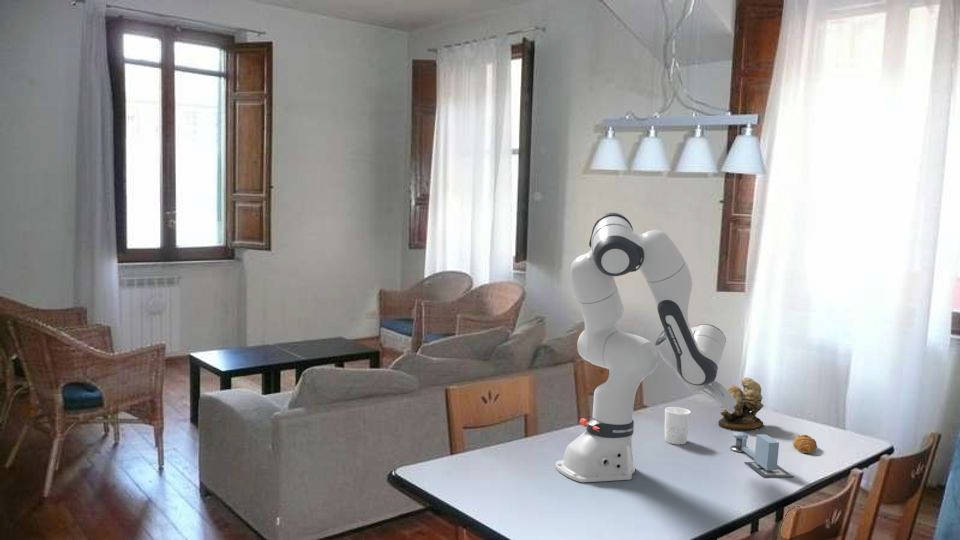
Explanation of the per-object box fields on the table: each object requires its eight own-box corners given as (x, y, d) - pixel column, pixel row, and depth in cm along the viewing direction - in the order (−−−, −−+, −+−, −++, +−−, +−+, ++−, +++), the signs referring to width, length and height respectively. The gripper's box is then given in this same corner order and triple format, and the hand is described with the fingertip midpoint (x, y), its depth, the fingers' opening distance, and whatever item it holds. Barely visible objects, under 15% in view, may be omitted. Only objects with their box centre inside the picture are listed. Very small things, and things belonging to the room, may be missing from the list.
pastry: (819, 456, 225) (820, 444, 225) (795, 454, 227) (796, 441, 227) (814, 446, 234) (815, 435, 234) (791, 444, 236) (792, 432, 236)
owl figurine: (745, 417, 263) (749, 370, 261) (773, 427, 253) (778, 379, 251) (709, 423, 254) (714, 374, 252) (737, 434, 244) (742, 383, 242)
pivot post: (739, 453, 224) (740, 441, 224) (726, 448, 229) (727, 436, 228) (751, 451, 226) (752, 439, 226) (739, 446, 231) (740, 434, 231)
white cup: (685, 438, 237) (688, 407, 236) (690, 446, 229) (692, 415, 228) (660, 436, 237) (663, 406, 236) (664, 444, 230) (666, 413, 229)
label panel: (763, 477, 205) (763, 475, 205) (744, 463, 216) (744, 461, 216) (793, 477, 207) (793, 475, 207) (773, 462, 217) (773, 461, 217)
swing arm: (729, 444, 229) (731, 419, 228) (742, 444, 230) (744, 419, 229) (764, 470, 208) (766, 442, 208) (778, 470, 209) (781, 442, 208)
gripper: (722, 376, 197) (754, 412, 200) (691, 358, 217) (720, 391, 220) (705, 392, 197) (737, 428, 199) (675, 373, 217) (704, 406, 220)
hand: (728, 408), depth 210 cm, fingers open, 4 cm apart
